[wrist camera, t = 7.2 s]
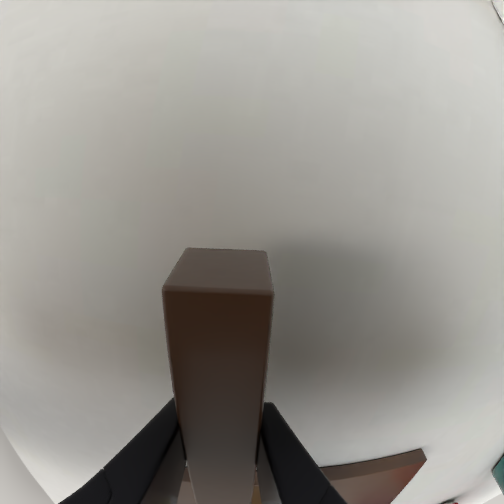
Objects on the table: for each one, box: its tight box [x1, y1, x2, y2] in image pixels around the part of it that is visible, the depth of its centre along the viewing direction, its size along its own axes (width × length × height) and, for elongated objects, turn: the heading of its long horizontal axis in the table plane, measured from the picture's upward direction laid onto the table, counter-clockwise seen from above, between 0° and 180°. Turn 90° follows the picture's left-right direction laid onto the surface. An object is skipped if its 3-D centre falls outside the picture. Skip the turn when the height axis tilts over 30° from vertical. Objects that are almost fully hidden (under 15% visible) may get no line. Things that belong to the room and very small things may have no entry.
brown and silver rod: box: [162, 248, 274, 504], centre depth 10 cm, size 2×21×2 cm, turn 178°
